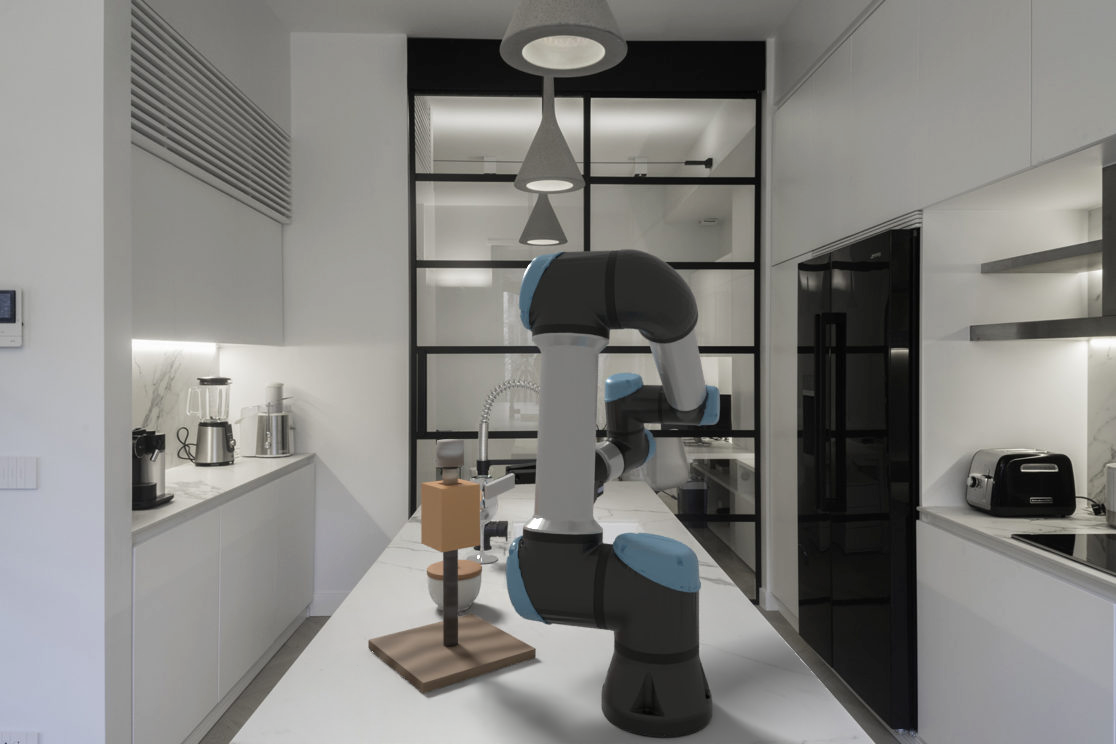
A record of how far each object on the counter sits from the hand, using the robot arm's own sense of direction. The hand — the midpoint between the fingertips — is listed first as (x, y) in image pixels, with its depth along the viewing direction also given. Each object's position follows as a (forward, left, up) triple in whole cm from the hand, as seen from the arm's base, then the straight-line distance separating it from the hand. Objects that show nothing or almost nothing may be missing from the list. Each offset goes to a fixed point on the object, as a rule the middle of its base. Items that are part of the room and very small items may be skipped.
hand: (511, 506), depth 121 cm
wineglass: (+49, -14, -23) cm, 56 cm away
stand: (0, +11, -23) cm, 26 cm away
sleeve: (0, +11, -5) cm, 12 cm away
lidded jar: (+21, +3, -24) cm, 32 cm away
